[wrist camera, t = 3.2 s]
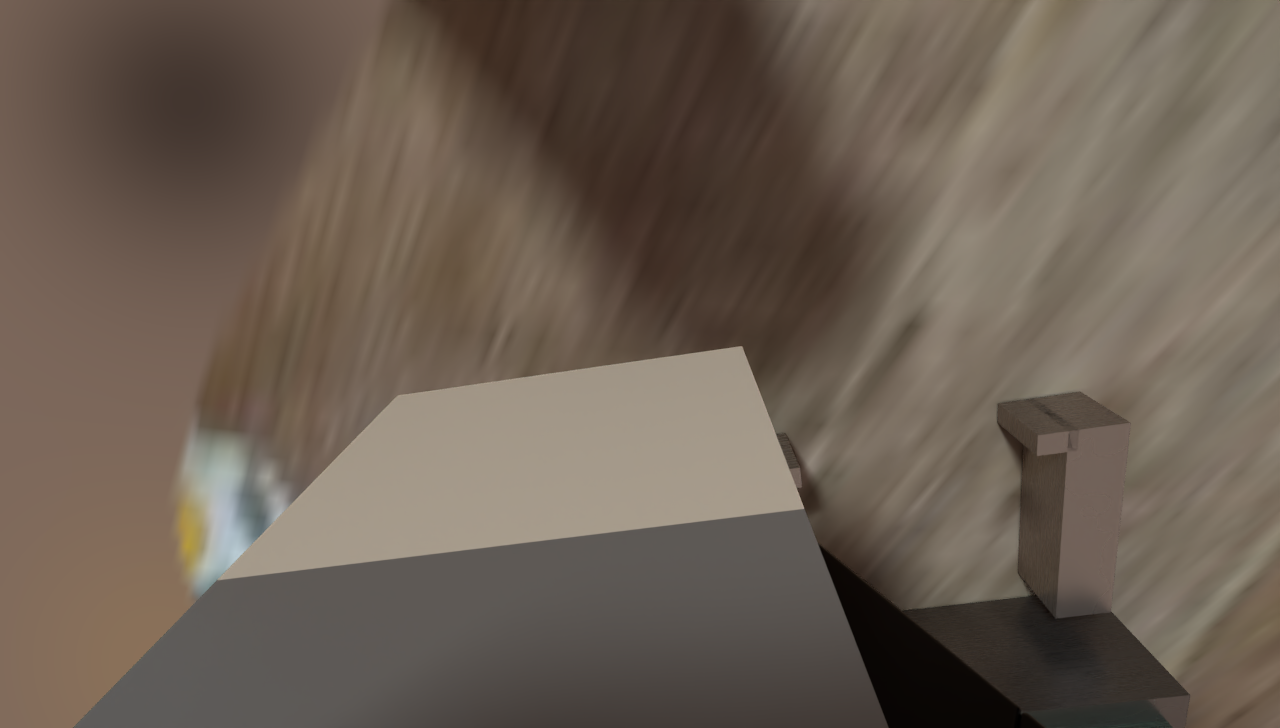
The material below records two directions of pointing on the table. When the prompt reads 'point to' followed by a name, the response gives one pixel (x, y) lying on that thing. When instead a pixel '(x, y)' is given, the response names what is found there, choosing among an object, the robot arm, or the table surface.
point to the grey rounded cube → (528, 574)
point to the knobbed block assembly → (1061, 581)
